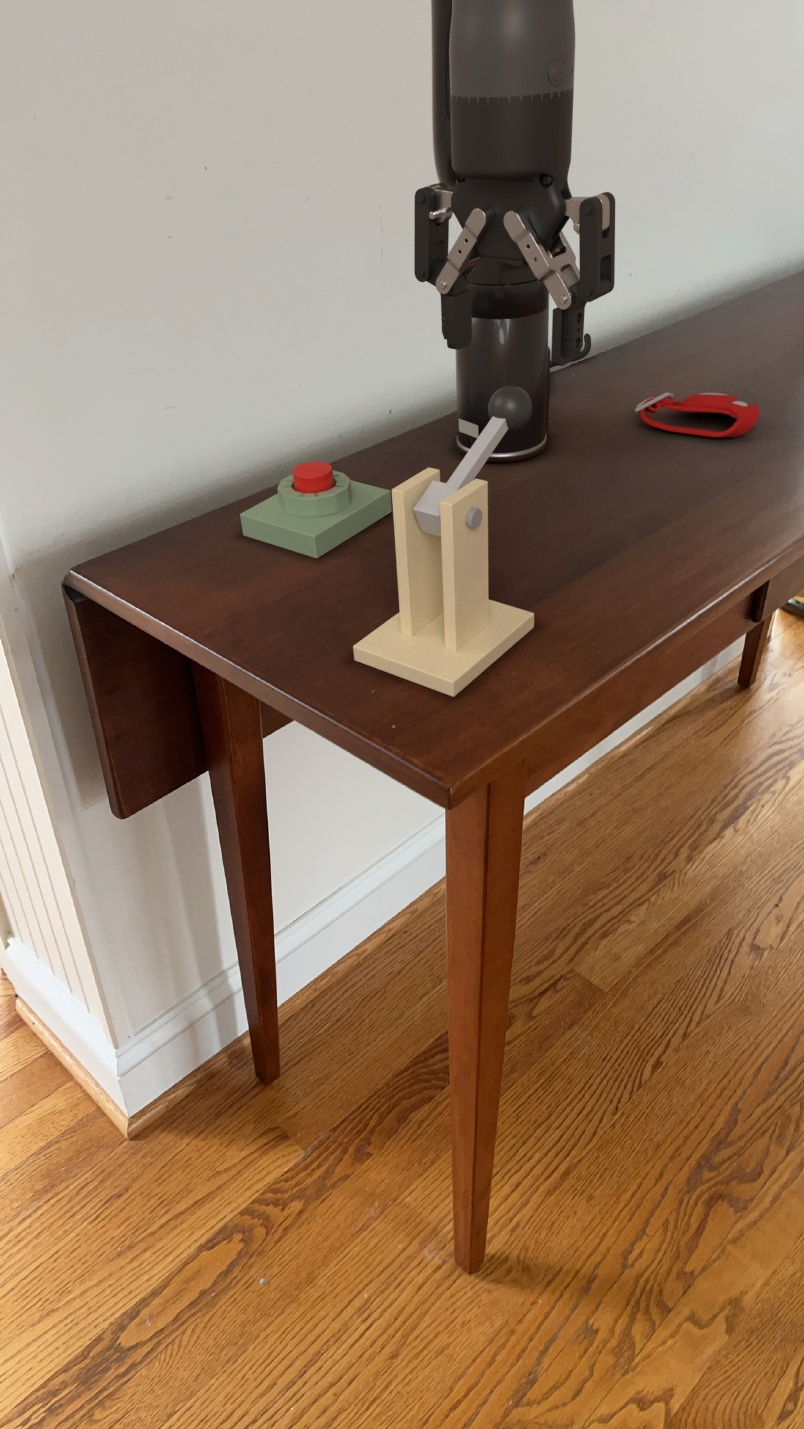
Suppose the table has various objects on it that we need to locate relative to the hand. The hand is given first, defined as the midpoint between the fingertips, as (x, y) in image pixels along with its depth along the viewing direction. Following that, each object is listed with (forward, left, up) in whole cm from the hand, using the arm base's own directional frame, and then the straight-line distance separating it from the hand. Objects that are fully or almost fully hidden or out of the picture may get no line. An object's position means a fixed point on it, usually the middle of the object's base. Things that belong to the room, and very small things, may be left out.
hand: (509, 354), depth 72 cm
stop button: (-2, -22, -15) cm, 27 cm away
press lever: (+4, 0, -7) cm, 8 cm away
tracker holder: (-41, -2, -19) cm, 45 cm away
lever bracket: (+9, 0, -19) cm, 21 cm away
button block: (-2, -22, -19) cm, 29 cm away
